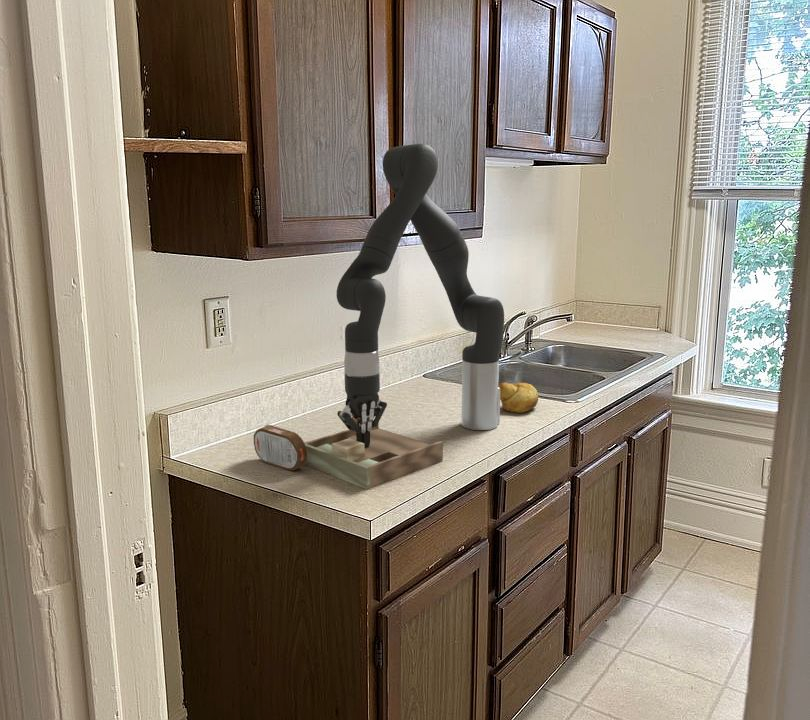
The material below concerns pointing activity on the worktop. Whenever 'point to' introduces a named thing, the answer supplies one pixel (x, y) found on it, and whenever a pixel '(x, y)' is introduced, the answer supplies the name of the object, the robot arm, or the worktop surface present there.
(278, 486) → the worktop surface
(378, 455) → the trap box
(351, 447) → the maple block
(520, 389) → the bread roll
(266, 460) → the tin
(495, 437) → the worktop surface
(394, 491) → the worktop surface
